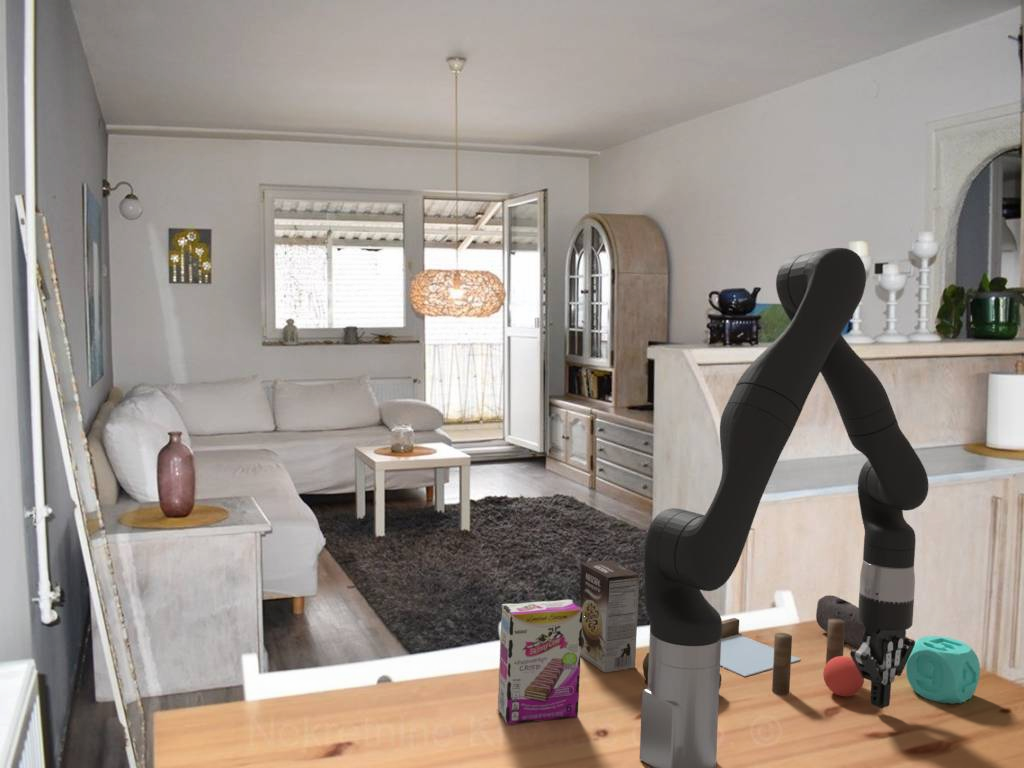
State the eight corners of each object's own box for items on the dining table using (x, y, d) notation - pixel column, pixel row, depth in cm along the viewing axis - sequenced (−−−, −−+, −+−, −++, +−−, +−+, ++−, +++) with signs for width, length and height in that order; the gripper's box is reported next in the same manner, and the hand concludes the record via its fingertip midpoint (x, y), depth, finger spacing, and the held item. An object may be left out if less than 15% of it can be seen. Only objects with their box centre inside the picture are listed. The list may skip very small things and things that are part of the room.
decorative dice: (978, 696, 147) (982, 646, 146) (953, 709, 142) (957, 658, 141) (929, 679, 153) (932, 632, 152) (903, 691, 148) (906, 642, 147)
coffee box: (576, 654, 161) (579, 562, 159) (608, 649, 163) (611, 558, 162) (603, 673, 152) (606, 576, 151) (637, 668, 155) (640, 572, 154)
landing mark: (744, 677, 152) (744, 675, 152) (683, 649, 164) (683, 648, 164) (800, 660, 160) (800, 659, 160) (738, 635, 172) (738, 634, 172)
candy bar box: (507, 727, 132) (509, 614, 131) (497, 712, 137) (499, 603, 136) (580, 718, 136) (583, 607, 134) (568, 703, 141) (571, 597, 139)
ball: (817, 652, 147) (813, 687, 148) (844, 670, 141) (839, 706, 143) (847, 646, 149) (843, 680, 150) (874, 664, 144) (870, 700, 145)
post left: (781, 696, 145) (784, 639, 144) (768, 690, 147) (771, 634, 146) (792, 692, 146) (795, 636, 146) (779, 687, 149) (782, 631, 148)
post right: (835, 679, 152) (838, 625, 151) (822, 673, 154) (824, 620, 154) (845, 675, 154) (848, 622, 153) (832, 670, 156) (834, 617, 155)
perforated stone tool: (892, 656, 163) (894, 617, 162) (867, 659, 161) (869, 620, 161) (835, 628, 177) (837, 592, 177) (812, 630, 175) (814, 594, 175)
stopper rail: (675, 649, 164) (676, 635, 164) (670, 647, 165) (671, 633, 165) (738, 632, 173) (739, 619, 173) (733, 630, 174) (734, 617, 174)
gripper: (881, 606, 131) (874, 725, 133) (936, 592, 139) (928, 705, 140) (836, 592, 137) (830, 706, 139) (890, 579, 145) (884, 687, 146)
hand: (880, 705), depth 140 cm, fingers closed
